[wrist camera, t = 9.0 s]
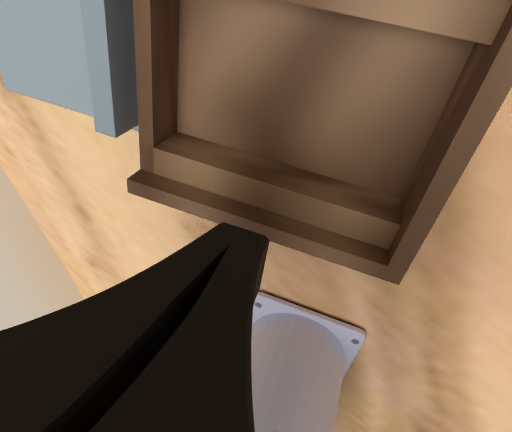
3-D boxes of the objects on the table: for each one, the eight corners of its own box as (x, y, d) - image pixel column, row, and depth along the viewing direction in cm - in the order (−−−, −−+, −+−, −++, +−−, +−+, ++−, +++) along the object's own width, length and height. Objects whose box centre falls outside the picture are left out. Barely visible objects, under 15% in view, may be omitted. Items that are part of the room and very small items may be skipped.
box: (534, -35, 12) (582, -39, 9) (399, 232, 19) (398, 284, 16) (171, -98, 15) (104, -119, 11) (169, 159, 22) (127, 192, 19)
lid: (164, -69, 16) (113, -79, 13) (164, 132, 22) (128, 155, 19) (-32, -108, 18) (-114, -124, 15) (15, 86, 24) (-38, 101, 21)
